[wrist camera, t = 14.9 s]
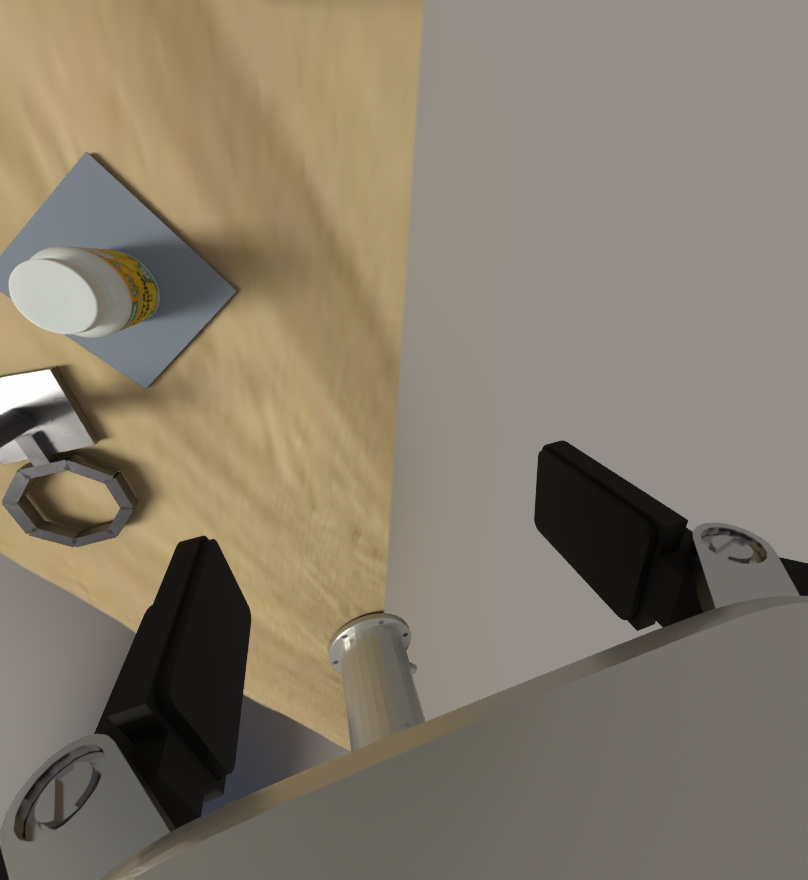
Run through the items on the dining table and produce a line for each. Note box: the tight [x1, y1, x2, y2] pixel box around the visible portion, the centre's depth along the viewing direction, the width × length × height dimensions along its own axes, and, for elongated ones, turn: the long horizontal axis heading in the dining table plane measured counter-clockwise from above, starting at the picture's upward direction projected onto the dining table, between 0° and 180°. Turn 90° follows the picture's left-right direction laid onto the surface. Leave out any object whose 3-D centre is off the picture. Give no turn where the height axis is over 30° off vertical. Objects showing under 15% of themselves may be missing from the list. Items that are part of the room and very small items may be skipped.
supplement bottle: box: [9, 246, 160, 338], centre depth 24 cm, size 5×5×10 cm
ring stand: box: [0, 367, 138, 547], centre depth 26 cm, size 16×9×15 cm, turn 8°
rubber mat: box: [0, 152, 237, 389], centre depth 29 cm, size 12×12×1 cm
